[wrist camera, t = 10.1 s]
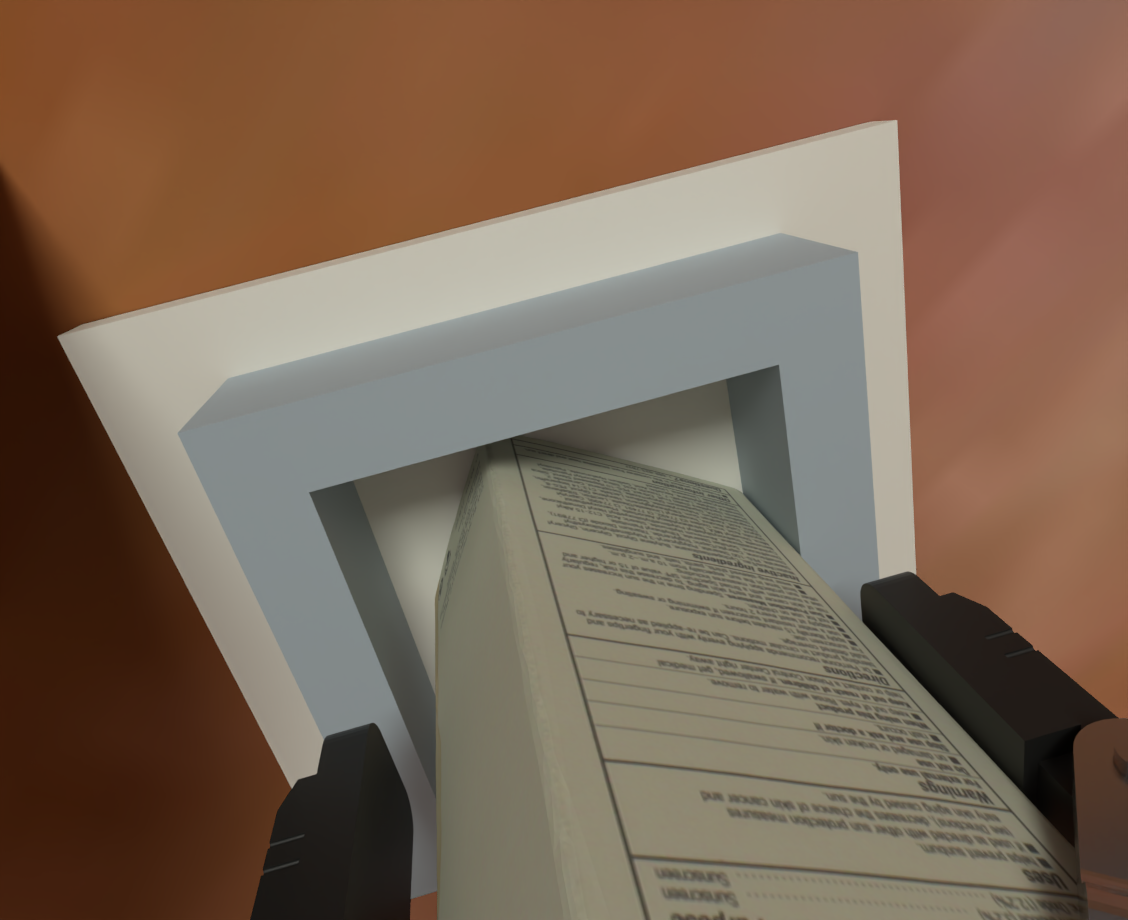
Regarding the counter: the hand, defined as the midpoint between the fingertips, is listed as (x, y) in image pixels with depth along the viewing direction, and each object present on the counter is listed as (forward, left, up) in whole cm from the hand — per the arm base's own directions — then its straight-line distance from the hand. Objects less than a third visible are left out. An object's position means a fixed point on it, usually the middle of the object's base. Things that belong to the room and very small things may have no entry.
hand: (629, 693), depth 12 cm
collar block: (0, 0, -6) cm, 6 cm away
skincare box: (0, 0, -5) cm, 5 cm away
